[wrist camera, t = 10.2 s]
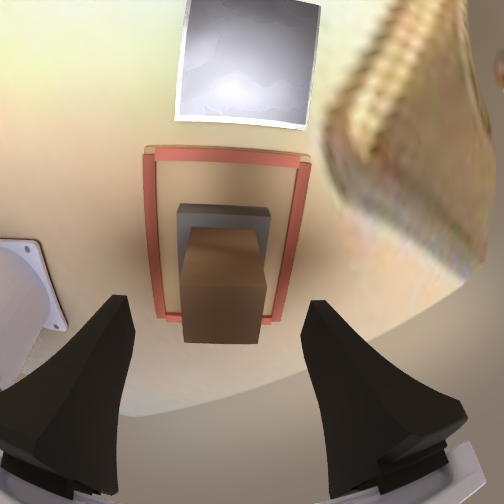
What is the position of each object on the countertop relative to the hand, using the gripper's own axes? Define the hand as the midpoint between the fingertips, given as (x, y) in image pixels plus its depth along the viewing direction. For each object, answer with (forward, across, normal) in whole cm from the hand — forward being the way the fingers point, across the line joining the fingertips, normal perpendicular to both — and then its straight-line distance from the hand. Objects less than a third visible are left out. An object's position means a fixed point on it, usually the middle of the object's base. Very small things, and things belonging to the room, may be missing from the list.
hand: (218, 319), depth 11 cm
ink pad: (+6, -1, -10) cm, 12 cm away
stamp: (+5, 0, 0) cm, 5 cm away
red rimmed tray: (+6, 0, 0) cm, 6 cm away
